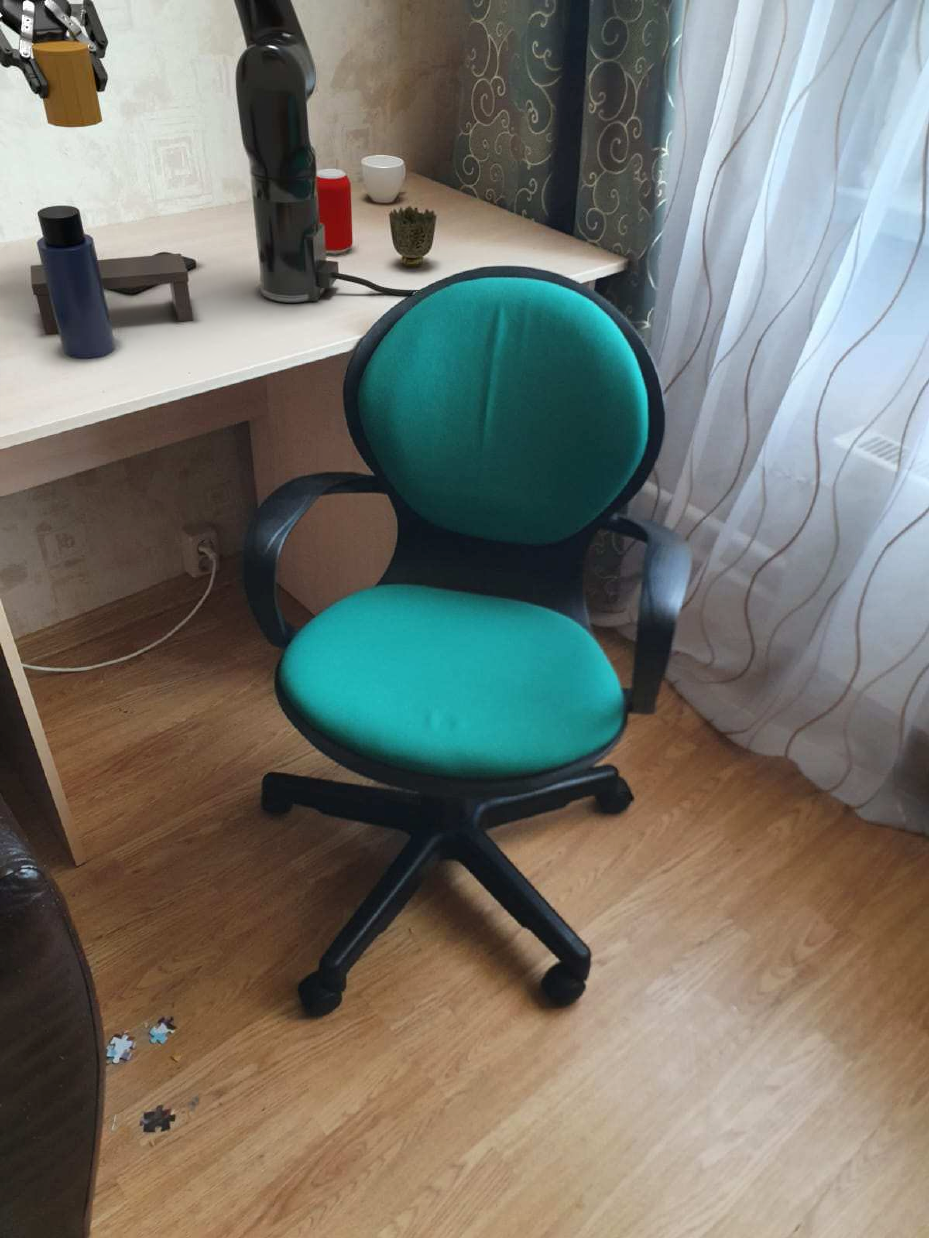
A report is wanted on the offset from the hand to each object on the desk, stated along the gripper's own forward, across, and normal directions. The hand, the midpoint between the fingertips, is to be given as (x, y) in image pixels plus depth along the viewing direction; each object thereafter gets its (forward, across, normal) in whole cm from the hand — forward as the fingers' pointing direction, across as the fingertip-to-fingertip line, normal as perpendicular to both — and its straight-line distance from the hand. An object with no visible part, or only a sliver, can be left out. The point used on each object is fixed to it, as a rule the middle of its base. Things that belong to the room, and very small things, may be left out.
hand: (74, 90), depth 113 cm
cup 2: (+24, +48, +17) cm, 56 cm away
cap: (+1, 0, +4) cm, 4 cm away
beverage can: (+15, +41, +26) cm, 51 cm away
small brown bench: (+19, +1, +22) cm, 29 cm away
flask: (+24, -7, +18) cm, 30 cm away
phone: (+11, +11, +31) cm, 34 cm away
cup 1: (+4, +65, +38) cm, 75 cm away
